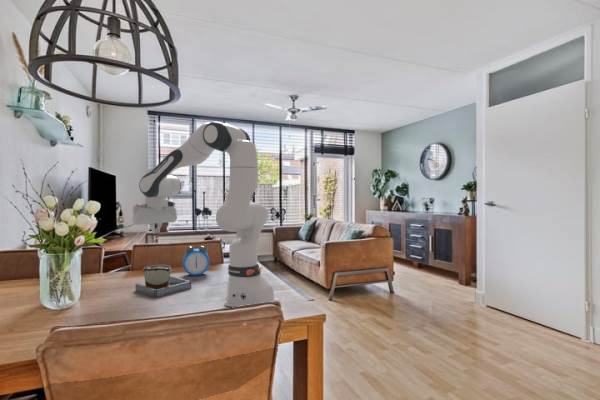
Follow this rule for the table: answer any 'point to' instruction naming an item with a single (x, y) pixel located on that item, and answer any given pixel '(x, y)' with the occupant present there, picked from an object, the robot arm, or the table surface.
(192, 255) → the alarm clock
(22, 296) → the table surface
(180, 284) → the metal dock
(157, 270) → the food container
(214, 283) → the table surface
